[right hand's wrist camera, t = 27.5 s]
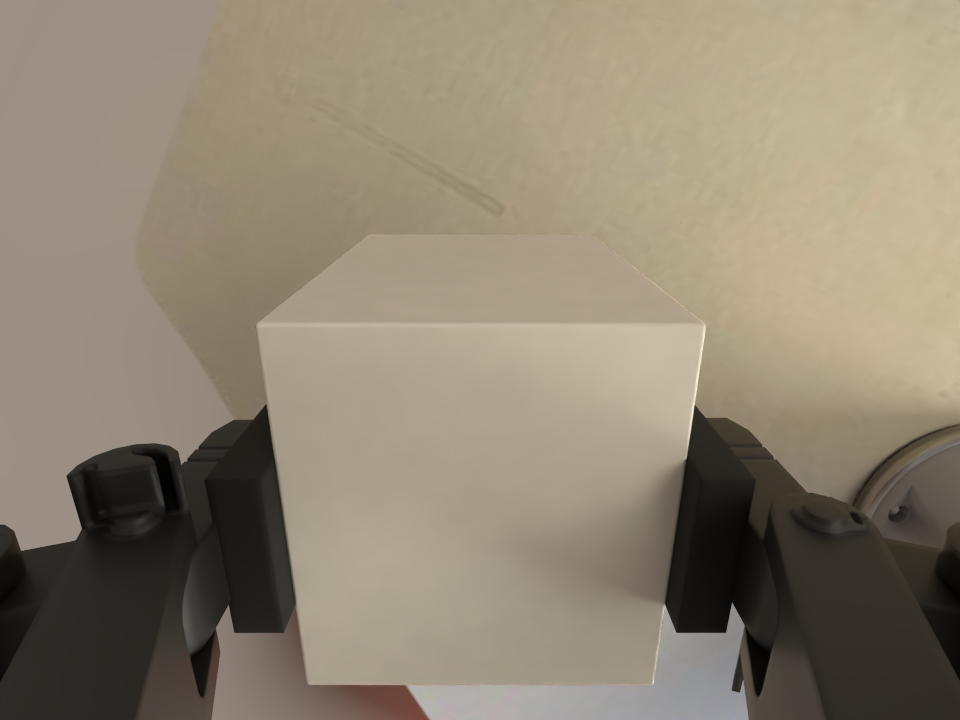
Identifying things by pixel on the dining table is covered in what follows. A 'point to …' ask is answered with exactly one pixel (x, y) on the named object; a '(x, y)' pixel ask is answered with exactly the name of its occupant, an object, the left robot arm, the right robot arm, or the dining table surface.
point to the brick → (480, 459)
